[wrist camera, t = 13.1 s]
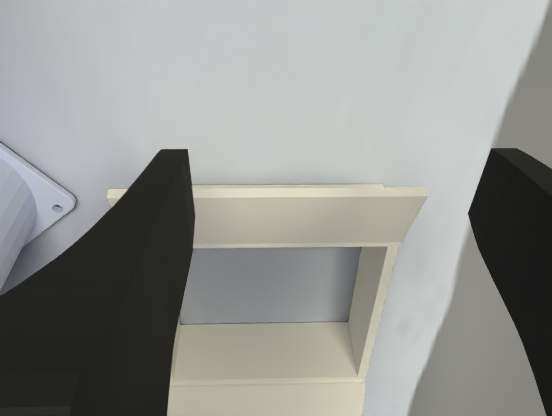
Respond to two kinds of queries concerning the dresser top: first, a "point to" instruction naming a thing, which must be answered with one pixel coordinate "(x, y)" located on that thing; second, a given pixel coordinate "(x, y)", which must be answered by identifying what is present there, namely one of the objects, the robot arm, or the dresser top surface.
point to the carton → (290, 336)
